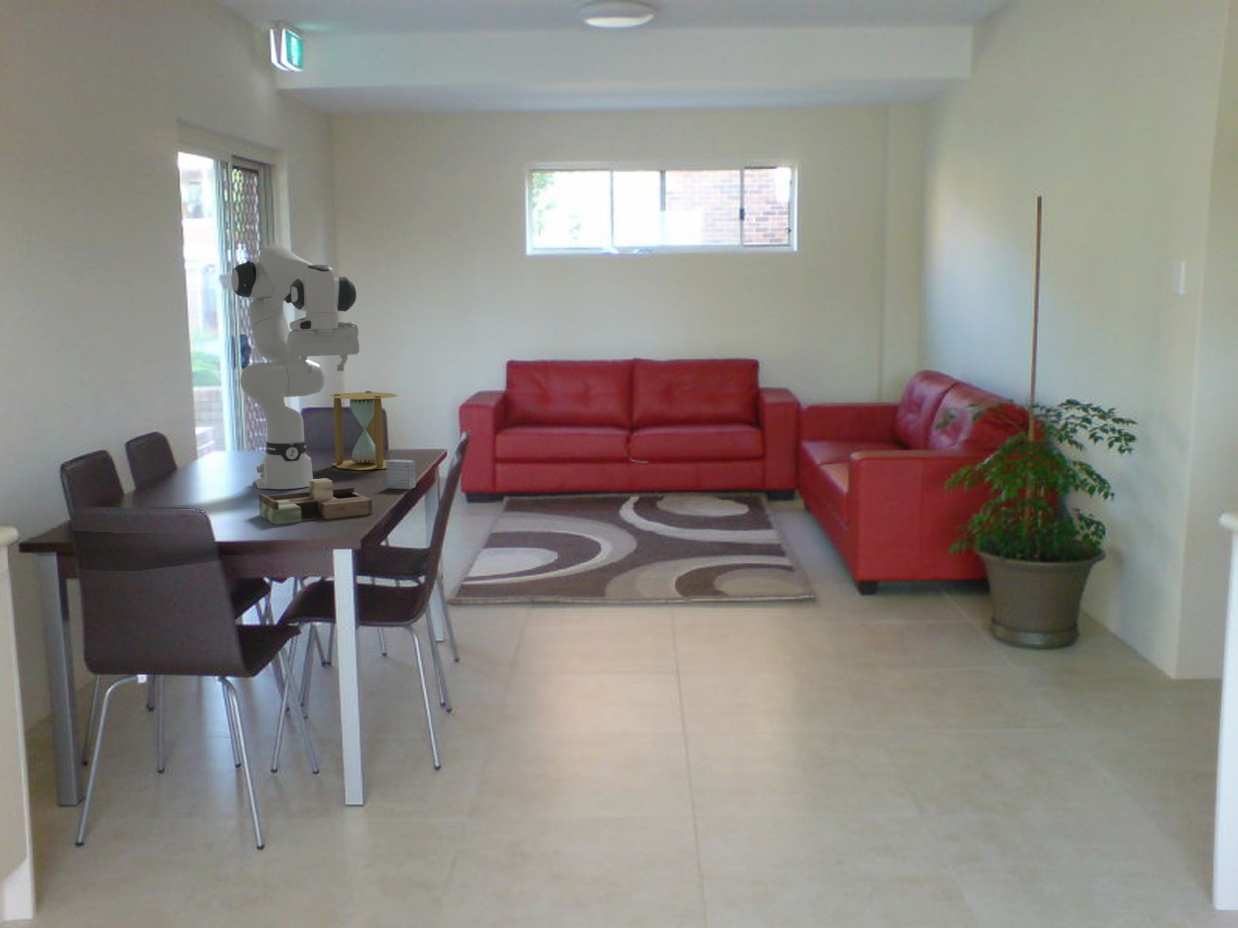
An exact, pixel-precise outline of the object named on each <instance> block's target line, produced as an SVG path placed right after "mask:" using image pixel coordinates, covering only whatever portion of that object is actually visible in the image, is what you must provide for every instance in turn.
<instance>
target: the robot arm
mask: <svg viewBox="0 0 1238 928" xmlns="http://www.w3.org/2000/svg"><path fill="white" fill-rule="evenodd" d="M230 278H231V280H230V281H231V286H232V289H233V291H234V293H235V294H236V295H237V296H238V297H242V298H247V299H249V298H254V299H253V300H251V302H250V304H249V320H250V321H249V322H250V327H251V332H252V336H253V340H254V343H255V348H256V351H257V353H258V354H259V355H260V356H261V357H262V358H264V359H266V360H269V361H271V362H259V363H254V364H251V365H246V367H245V368H244V369H243V370H242V372H241V375H240V386H241V389H242V391H243V392H244V394H245V395H247V397H249V398H250V399H252V400H253V401H254V402H255V403H256V404H257V405H258V406H259V407H260V409H261V411H262V413H263V416H264V418H265V424H266V426H265V427H266V432H267V434H266V435H267V441H266V446H265V453H266V454H265V456H264V458H263V459H262V462H261V464H260V465H256V473H257V474H260V476H259V477H255V478H254V484H255V485H256V488H257V489H263V490H264V489H268V490H269V489H270V490H290V489H291V490H294V489H295V490H296V489H301V488H306V487H309V480H314V479H315V478H314V477H313V466H312V459H311V457H310V456H309V455H308V454H307V453H306V452H307V444H306V440H305V427H304V418H303V416H302V414H301V413H300V412H299V411H297V410H296V409H293V408H291V407H290V406H287V405H286V404H285V401H284V400H285V399H284V398H291V397H292V398H295V397H308V396H310V395H314V394H318V393H320V392H321V390H322V389H323V387H324V386H325V383H326V376H325V372H324V369H323V368H322V366H320V365H319V363H317V362H315V361H313V360H311V359H310V358H308V357H324V356H327V357H328V356H340V359H341V361H340V363H339V364H337V365H336V369H337V372H344V371H345V364H346V363H347V361H348V355H349V356H350V355H358V354H359V352H360V342H359V338H358V336H359V327H358V325H357V324H356V323H354V322H352V321H350V322H344V321H343V322H339V312H347V311H348V310H349V309H351V308H352V307H353V305H354V304H355V303H356V300H357V290H356V287H355V284H354V283H353V282H352V281H351V280H350V279H349V277H347V276H337V275H336V274H335V270H334V268H333V267H331V266H330V265H324V264H314V263H312V262H309V261H307V260H305V259H303V258H302V257H300V256H298V255H297V254H295V253H294V252H292V251H291V250H289V248H287V247H285V246H283V245H278V244H269V245H267V246H265V247H263V248H262V250H261V251H260V252H259V255H258V260H257V261H254V262H253V261H251V260H246V262H243V263H240V264H237V265H236V266H235V267H234V268H233V269H232V272H231V277H230ZM284 301H285V303H286V304H290V303H291V304H292V306H294V307H295V308H296V309H297V310H299V311H303V312H305V317H302V318H299V319H297V320H293V321H291V322H289V325H288V321H287V318H286V316H285V313H284V308H283V307H284Z"/></svg>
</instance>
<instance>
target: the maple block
mask: <svg viewBox="0 0 1238 928" xmlns="http://www.w3.org/2000/svg"><path fill="white" fill-rule="evenodd" d="M313 479H314V480H309V486H308V487H309V492H310V498H312V499H314V500H323V499H333V489H334V488H333V487H334V484H333V483H334V482H333V480H331V479H329V478H327V477H326V478H325V477H324V478H317V479H316V478H313Z"/></svg>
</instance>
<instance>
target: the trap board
mask: <svg viewBox="0 0 1238 928" xmlns="http://www.w3.org/2000/svg"><path fill="white" fill-rule="evenodd" d="M258 499H259V500H258V503H259V516H261V517H263V518H264V519H266V520H268V521H269V522H270V523H272V524H274V525H276V526H277V525H278V526H279V525H284V524H285V525H286V524H293V523H294V524H295V523H301V522H302V523H304V522H311V521H321V520H330V519H331V520H332V519H339V518H347V517H356V516H366V515H372V514H373V502H372V501H373V500H372V499H371V498H369V497H367V496H364V495H362V494H360V493H357V492H355V487H343V488H342V487H341V488H333V499H323V500H314V499H312V498H310V491H303V492H302V491H301V492H291V493H282V494H271V495H266V494H265V493H263V492H262V493H258Z"/></svg>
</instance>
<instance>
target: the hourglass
mask: <svg viewBox="0 0 1238 928" xmlns="http://www.w3.org/2000/svg"><path fill="white" fill-rule="evenodd" d="M329 396H330V397H332V398H333V426H334V427H333V429H334V445H335V446H334V447H335V450H334V451H335V461H336V462H335V463H334V462H333V463H331V465H332V466H334V467H336V468H338V469H343V470H345V469H346V470H355V471H356V470H357V471H364V470H366V471H367V470H376V469H377V470H383V469H386V462H387V461H389V460H390V459H384V429H383V428H384V427H383V406H382V405H383V403H382V399H386V398H388V399H389V398H393V397H399V395H398V394H394V393H391V392H389V393H388V392H376V391H374V392H373V391H372V390H366V391H364V392H362V391H361V392H345V393H334V394H330V395H329ZM342 399H345V400H349V407H350V410H351V412H352V414H353V415H354V417H355V419H356V420H357V422H358V423H359V424H360V427H361V428H362V429H363V431H362V432H361V435H360V436H359V438H358V440H357V441H356V444H355V445H354V447H353V449H352V452H351V453H352V454H351V459H348V460H344V434H343V433H344V429H343V427H344V426H343V413H342V412H343V411H342V408H343V407H342V406H343V405H342Z"/></svg>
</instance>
